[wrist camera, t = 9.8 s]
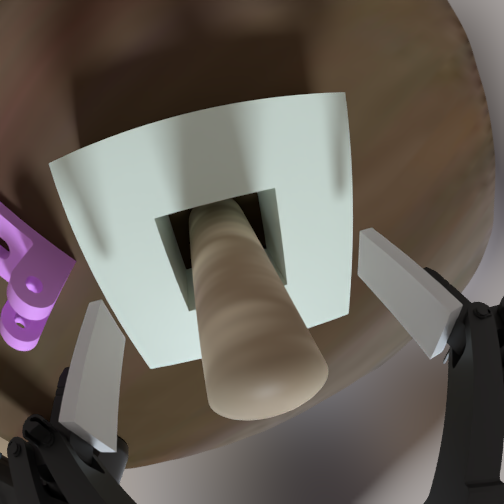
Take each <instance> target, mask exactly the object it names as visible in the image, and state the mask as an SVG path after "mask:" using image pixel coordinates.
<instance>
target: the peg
mask: <svg viewBox="0 0 504 504" xmlns="http://www.w3.org/2000/svg"><path fill="white" fill-rule="evenodd" d="M189 234H190V249H191V262H192V274H193V285H194V296H195V306H196V315H197V324H198V332H199V340H200V348H201V356H202V363H203V370H204V377H205V383H206V390H207V396H208V402H209V405H210V407H211V408H212V409H213V411H215V412H216V413H217V414H219V415H221V416H224V417H226V418H230V419H235V420H259V419H265V418H270V417H274V416H277V415H280V414H283V413H286V412H288V411H291V410H293V409H295V408H297V407H299V406H300V405H302V404H304V403H305V402H307V401H308V400H309V399H311V398H312V397H313V396H314V395H315V394H316V393H317V392H318V391H319V390H320V389H321V388H322V386H323V385H324V383H325V382H326V379H327V377H328V366H327V364H326V362H325V360H324V358H323V356H322V354H321V353H320V351H319V349H318V347H317V345H316V343H315V341H314V340H313V338H312V336H311V334H310V332H309V330H308V329H307V327H306V325H305V323H304V321H303V319H302V318H301V316H300V314H299V312H298V310H297V308H296V307H295V305H294V303H293V301H292V299H291V297H290V296H289V294H288V292H287V290H286V288H285V287H284V285H283V283H282V281H281V279H280V278H279V276H278V274H277V272H276V270H275V268H274V267H273V265H272V263H271V261H270V259H269V258H268V256H267V254H266V252H265V250H264V249H263V247H262V245H261V243H260V242H259V240H258V238H257V236H256V234H255V233H254V231H253V229H252V227H251V225H250V224H249V222H248V220H247V218H246V217H245V215H244V213H243V211H242V209H241V208H240V206H239V205H238V204H237V203H236V202H235V201H234V200H233V199H231V198H229V199H225V200H221V201H217V202H213V203H209V204H205V205H201V206H197V207H194V208H193V209H192V211H191V213H190V216H189Z"/></svg>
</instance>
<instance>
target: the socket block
mask: <svg viewBox="0 0 504 504" xmlns="http://www.w3.org/2000/svg"><path fill="white" fill-rule="evenodd" d="M49 166H50V169H51V172H52V175H53V178H54V182H55V184H56V187H57V190H58V193H59V196H60V199H61V201H62V204H63V207H64V209H65V212H66V215H67V217H68V220H69V222H70V224H71V227H72V229H73V232H74V234H75V236H76V239H77V241H78V243H79V245H80V248H81V250H82V252H83V254H84V256H85V258H86V260H87V262H88V265H89V267H90V269H91V271H92V273H93V275H94V277H95V278H96V280H97V282H98V284H99V286H100V288H101V290H102V292H103V294H104V295H105V297H106V299H107V301H108V303H109V304H110V306H111V308H112V310H113V311H114V313H115V315H116V316H117V318H118V320H119V321H120V323H121V325H122V326H123V328H124V330H125V331H126V333H127V334H128V336H129V338H130V339H131V341H132V342H133V344H134V345H135V347H136V348H137V350H138V351H139V353H140V354H141V356H142V357H143V359H144V360H145V362H146V363H147V364H148V366H149V367H150V369H153V368H158V367H163V366H168V365H173V364H178V363H183V362H187V361H192V360H196V359H201V358H202V356H201V348H200V340H199V332H198V324H197V315H196V306H195V296H194V285H193V274H192V268H190V269H187V270H186V267H185V264H184V261H183V259H182V256H181V253H180V250H179V247H178V244H177V241H176V238H175V234H174V231H173V228H172V225H171V222H170V219H169V216H168V214H172V213H175V212H179V211H183V210H186V209H190V208H194V207H197V206H201V205H205V204H209V203H213V202H217V201H221V200H225V199H229V198H233V197H237V196H241V195H246V194H250V193H254V192H257V193H258V199H259V205H260V211H261V217H262V223H263V229H264V235H265V242H266V249H264V250H265V252H266V254H267V256H268V258H269V259H270V261H271V263H272V265H273V267H274V268H275V270H276V272H277V274H278V276H279V278H280V279H281V281H282V283H283V285H284V287H285V288H286V290H287V292H288V294H289V296H290V297H291V299H292V301H293V303H294V305H295V307H296V308H297V310H298V312H299V314H300V316H301V318H302V319H303V321H304V323H305V325H306V327H307V328H310V327H313V326H316V325H319V324H322V323H325V322H327V321H330V320H333V319H336V318H339V317H341V316H344V315H347V314H348V312H349V300H350V286H351V268H352V238H353V197H352V167H351V150H350V136H349V124H348V114H347V105H346V96H345V92H339V93H316V94H302V95H291V96H281V97H273V98H265V99H258V100H251V101H245V102H239V103H233V104H228V105H223V106H218V107H213V108H208V109H203V110H199V111H195V112H191V113H186V114H183V115H179V116H175V117H171V118H167V119H164V120H160V121H157V122H154V123H150V124H147V125H144V126H141V127H137V128H134V129H131V130H128V131H126V132H123V133H120V134H117V135H114V136H112V137H109V138H106V139H104V140H101V141H98V142H96V143H93V144H91V145H88V146H86V147H84V148H81V149H79V150H77V151H74V152H72V153H70V154H68V155H66V156H63V157H61V158H59V159H57V160H55V161H53V162H51V163H49Z"/></svg>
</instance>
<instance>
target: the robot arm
mask: <svg viewBox="0 0 504 504" xmlns="http://www.w3.org/2000/svg"><path fill="white" fill-rule="evenodd" d="M358 276H359V277H360V278H361V279H362V280H363V281H364V282H365V283H366V285H367V286H368V287H369V288H370V289H371V290H372V291H373V292H374V293H375V295H376V296H377V297H378V298H379V299H380V300H381V301H382V302H383V304H384V305H385V306H386V307H387V308H388V309H389V310H390V312H391V313H392V314H393V315H394V316H395V317H396V319H397V320H398V321H399V322H400V323H401V324H402V326H403V327H404V328H405V329H406V330H407V332H408V333H409V334H410V335H411V336H412V338H413V339H414V340H415V341H416V342H417V343H418V345H419V346H420V347H421V348H422V350H423V351H424V352H425V353H426V355H427V356H428V357H429V359H431V358H433V357H435V356H436V355H438V354H439V353H441V352H442V351H443V349H444V347H445V345H446V343H448V344H449V345H450V349H449V351H448V352H447V354H446V356H445V358H444V361H443V363H446V361H447V359H448V357H449V362H448V367H449V368H448V389H447V402H446V412H445V421H444V429H443V435H442V441H441V447H440V453H439V457H438V462H437V467H436V471H435V475H434V479H433V483H432V487H431V490H430V494H429V496H428V498H427V500H426V501H425V502H424V504H504V483H503V482H502V481H500V469H501V460H502V452H503V440H504V297H503V298H502V300H501V302H500V304H499V305H497V306H493V307H489V306H487V305H486V304H484V303H481V302H474V303H471V302H470V301H469V300H468V299H466V298H465V297H464V296H463V295H462V294H461V293H460V292H459V291H458V290H457V289H456V288H454V287H453V286H452V285H450V284H449V282H448V281H447V280H445V279H444V278H443V277H442V276H441V275H440V274H438V273H437V272H436V271H434V270H432V269H430V268H427V267H425V268H421V267H420V266H419V265H418V264H417V263H416V262H414V261H413V260H412V259H411V258H410V257H408V256H407V255H406V254H405V253H403V252H402V251H401V250H400V249H399V248H397V247H396V246H395V245H394V244H392V243H391V242H390V241H388V240H387V239H386V238H385V237H383V236H382V235H381V234H379V233H378V232H377V231H375V230H374V229H373V228H369V229H365V230H362V231H360V239H359V261H358ZM124 345H125V337H124V335H123V334H122V332H121V331H120V329H119V327H118V326H117V324H116V322H115V321H114V319H113V318H112V316H111V314H110V313H109V311H108V309H107V307H106V306H105V304H104V302H103V300H98V301H94V302H90V303H89V306H88V308H87V311H86V314H85V317H84V320H83V323H82V326H81V330H80V333H79V336H78V339H77V343H76V346H75V350H74V353H73V357H72V361H71V364H70V367H66V368H65V369H64V370H63V372H62V374H61V375H60V377H59V381H58V386H57V387H58V389H57V390H56V394H55V395H56V397H55V399H54V403H53V408H52V413H51V418H50V422H48V421H47V420H46V419H44V418H43V417H42V416H40V415H38V414H33V415H31V416H30V417H28V418H27V420H26V421H25V423H24V425H23V431H22V433H23V437H24V438H25V439H27V440H28V441H29V442H26V441H24V440H23V439H22V438H20V437H14V438H13V439H11V440H10V442H9V444H8V448H7V454H8V458H7V457H5V456H3V455H2V453H0V504H136V503H135V502H134V500H133V499H132V498H131V497H130V496H129V495H128V494H127V493H126V492H125V491H124V490H123V489H122V487H121V486H120V485H119V483H120V480H121V477H122V474H123V471H124V469H125V466H126V462H127V460H128V445H127V444H126V443H125V442H124V441H123V440H122V439H120V438H119V437H117V420H118V403H119V390H120V379H121V370H122V361H123V353H124Z"/></svg>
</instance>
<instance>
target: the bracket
mask: <svg viewBox="0 0 504 504" xmlns="http://www.w3.org/2000/svg"><path fill="white" fill-rule="evenodd" d="M0 237H1V238H2V239H3V240H4V241H5V242H6V243H7V244H8V246H9V249H10V252H9V251H7V250H6V249H5V248H3V247H2V246H1V245H0V276H1V277H3V278H4V279H5V280H6V281H8V282H9V284H8V287H7V298H8V300H7V302H6V303H5V305H4V307H3V309H2V312H1V317H0V333H1V335H2V337H3V339H4V340H5V341H6V343H7V344H8V345H10V346H11V347H13V348H14V349H17V350H20V351H28V350H31V349H33V348H34V347H35V346H36V345H37V343H38V340H39V338H40V335H41V333H42V331H43V328H44V326H45V324H46V321H47V319H48V317H49V315H50V312H51V310H52V308H53V306H54V304H55V302H56V300H57V298H58V296H59V294H60V291H61V289H62V287H63V285H64V284H65V282H66V280H67V278H68V276H69V274H70V272H71V270H72V268H73V266H74V265H75V263H76V261H75V260H74V259H73V258H71V257H70V256H68V255H67V254H65V253H64V252H63V251H61V250H60V249H59V248H57V247H56V246H55V245H53V244H52V243H50V242H49V241H48V240H47V239H45V238H44V237H43V236H41V235H40V234H39V233H37V232H36V231H35V230H34V229H32V228H31V227H30V226H29V225H27V224H26V223H25V222H24V221H22V220H21V219H20V218H19V217H18V216H16V215H15V214H14V213H13V212H12V211H10V210H9V209H8V208H7V207H6V206H5V205H4V204H2V203H1V202H0ZM16 322H18V323H21V324H22V325H24V327H25V328H21V327H19V326H18V325H17V324H16Z"/></svg>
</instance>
